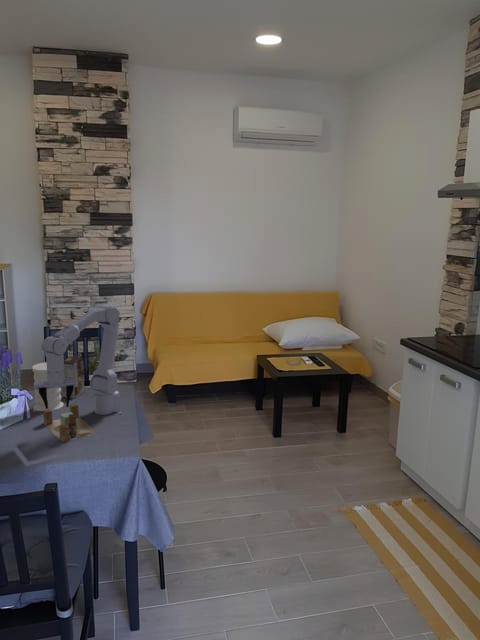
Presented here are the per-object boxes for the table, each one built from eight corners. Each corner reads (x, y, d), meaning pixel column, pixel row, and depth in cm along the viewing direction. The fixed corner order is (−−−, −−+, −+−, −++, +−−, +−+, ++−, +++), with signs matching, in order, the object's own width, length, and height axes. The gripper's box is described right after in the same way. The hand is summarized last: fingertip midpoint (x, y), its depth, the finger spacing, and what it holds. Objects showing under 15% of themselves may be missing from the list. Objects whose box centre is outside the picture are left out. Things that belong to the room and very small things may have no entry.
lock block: (71, 421, 187) (71, 411, 186) (75, 425, 184) (75, 415, 183) (60, 424, 185) (60, 414, 184) (64, 427, 182) (64, 417, 181)
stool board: (76, 418, 194) (76, 403, 192) (98, 436, 179) (97, 420, 177) (42, 425, 186) (42, 410, 184) (62, 445, 170) (61, 428, 169)
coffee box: (71, 390, 223) (69, 356, 220) (84, 391, 223) (83, 357, 219) (61, 397, 215) (59, 361, 211) (75, 398, 214) (74, 362, 210)
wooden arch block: (76, 434, 175) (76, 421, 174) (69, 435, 175) (68, 422, 174) (76, 426, 182) (75, 413, 181) (69, 427, 181) (68, 414, 180)
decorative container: (35, 404, 206) (32, 362, 203) (64, 402, 209) (62, 361, 206) (31, 414, 195) (29, 371, 192) (62, 412, 198) (61, 369, 195)
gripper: (32, 375, 168) (34, 413, 171) (77, 372, 173) (78, 409, 176) (33, 369, 175) (35, 405, 178) (77, 366, 180) (78, 402, 182)
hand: (57, 406), depth 177 cm, fingers open, 6 cm apart
